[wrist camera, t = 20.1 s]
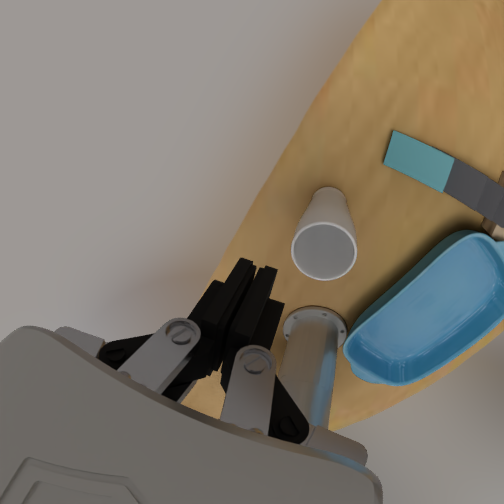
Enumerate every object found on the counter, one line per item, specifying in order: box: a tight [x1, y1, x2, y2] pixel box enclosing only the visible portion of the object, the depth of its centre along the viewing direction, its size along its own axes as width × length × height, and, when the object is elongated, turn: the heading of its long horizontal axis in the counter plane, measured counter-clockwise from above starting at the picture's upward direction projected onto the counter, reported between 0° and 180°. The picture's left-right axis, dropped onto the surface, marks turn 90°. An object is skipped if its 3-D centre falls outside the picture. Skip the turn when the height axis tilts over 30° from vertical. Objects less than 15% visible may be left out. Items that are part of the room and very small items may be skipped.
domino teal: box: [383, 130, 454, 193], centre depth 29 cm, size 2×5×9 cm
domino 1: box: [432, 146, 488, 211], centre depth 27 cm, size 2×5×9 cm
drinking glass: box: [291, 187, 357, 281], centre depth 32 cm, size 7×7×15 cm
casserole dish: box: [343, 230, 504, 386], centre depth 38 cm, size 37×22×7 cm, turn 148°
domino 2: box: [476, 178, 504, 221], centre depth 26 cm, size 2×5×9 cm
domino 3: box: [492, 193, 504, 228], centre depth 26 cm, size 2×5×9 cm
